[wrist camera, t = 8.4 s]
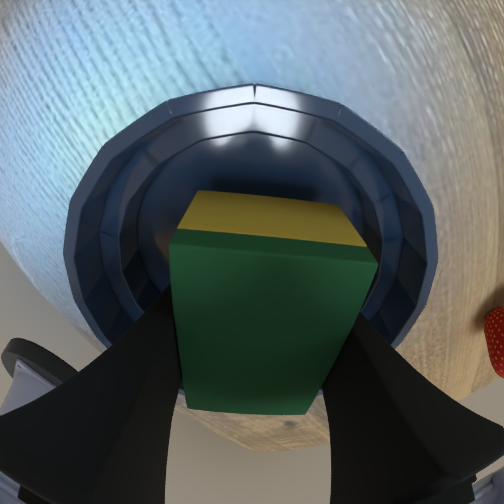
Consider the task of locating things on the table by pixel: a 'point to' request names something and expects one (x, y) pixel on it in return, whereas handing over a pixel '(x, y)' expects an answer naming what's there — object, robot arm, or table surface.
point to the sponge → (263, 299)
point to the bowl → (244, 182)
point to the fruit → (495, 338)
